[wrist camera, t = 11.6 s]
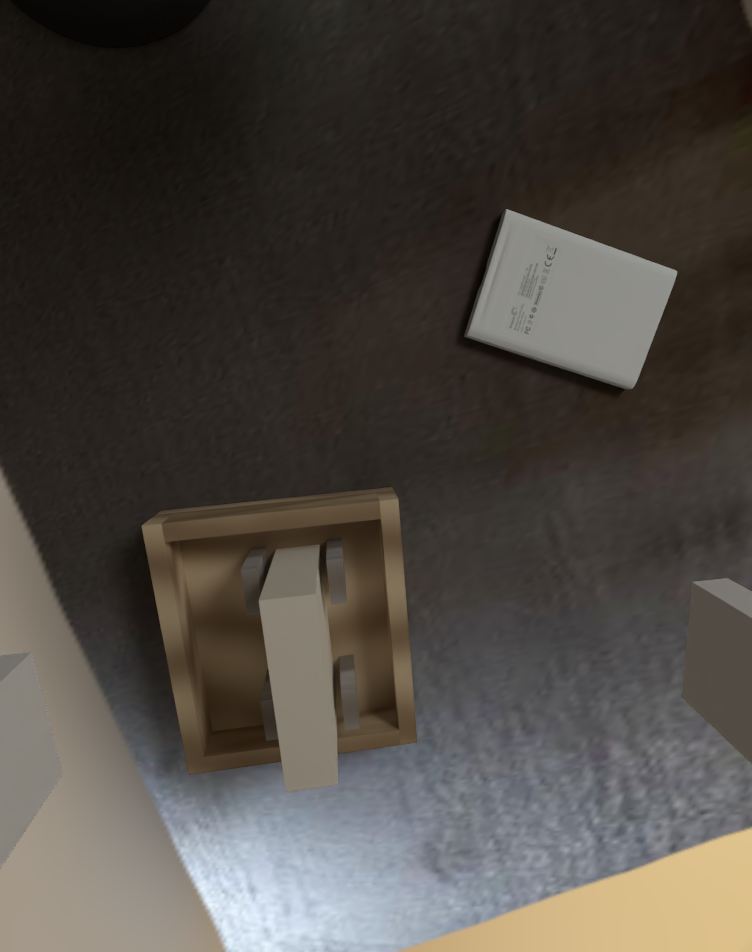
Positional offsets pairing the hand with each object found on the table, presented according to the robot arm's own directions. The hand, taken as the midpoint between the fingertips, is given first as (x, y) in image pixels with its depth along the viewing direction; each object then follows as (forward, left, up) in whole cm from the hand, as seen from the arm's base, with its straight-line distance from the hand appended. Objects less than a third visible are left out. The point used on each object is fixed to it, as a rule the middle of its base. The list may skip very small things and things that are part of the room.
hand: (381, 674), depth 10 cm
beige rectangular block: (+11, -4, -24) cm, 26 cm away
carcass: (+11, -5, -25) cm, 27 cm away
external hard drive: (-10, +16, -25) cm, 31 cm away
